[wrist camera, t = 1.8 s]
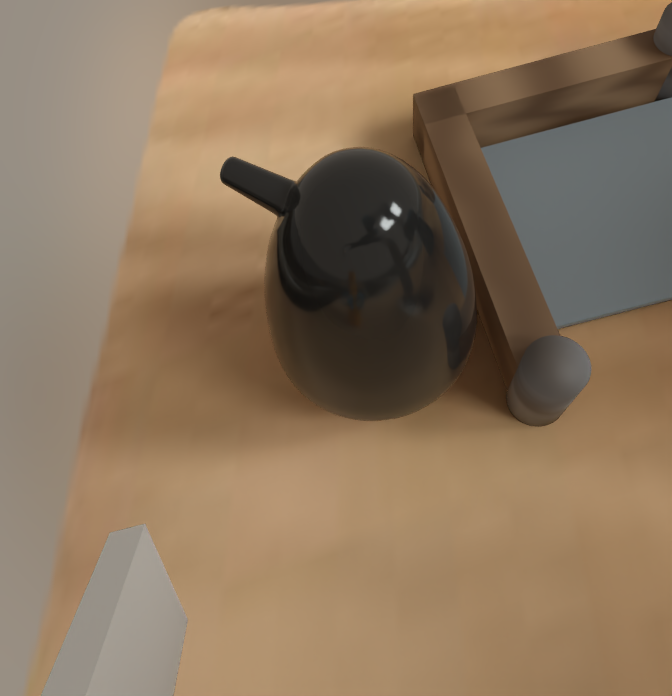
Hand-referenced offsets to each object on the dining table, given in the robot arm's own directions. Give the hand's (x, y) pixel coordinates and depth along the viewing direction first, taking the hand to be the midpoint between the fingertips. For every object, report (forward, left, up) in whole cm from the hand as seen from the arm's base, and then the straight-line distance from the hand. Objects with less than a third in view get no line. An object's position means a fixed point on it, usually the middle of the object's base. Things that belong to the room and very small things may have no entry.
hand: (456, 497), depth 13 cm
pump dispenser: (0, -11, -18) cm, 21 cm away
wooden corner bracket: (-15, -15, -18) cm, 28 cm away
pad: (-16, -16, -18) cm, 29 cm away
